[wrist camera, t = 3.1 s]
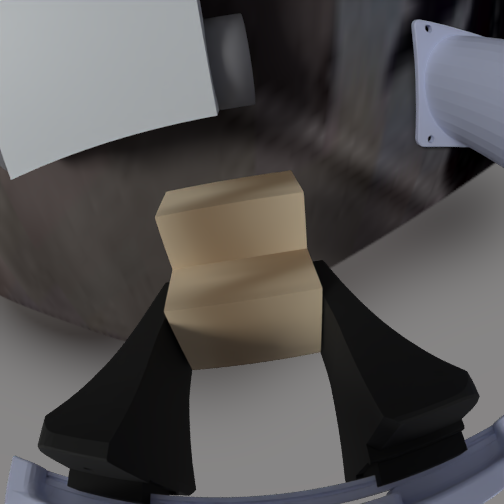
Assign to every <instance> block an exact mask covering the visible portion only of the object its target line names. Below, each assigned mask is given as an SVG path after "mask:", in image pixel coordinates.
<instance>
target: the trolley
mask: <svg viewBox="0 0 504 504" xmlns="http://www.w3.org/2000/svg"><path fill="white" fill-rule="evenodd" d="M218 105H219V107H218ZM249 105H255V89H254V80H253V72H252V65H251V58H250V52H249V46H248V41H247V35H246V30H245V26H244V21H243V18H242V15H241V13H239V14H231V15H225V16H219V17H213V18H207V19H204V22H203V17H202V11H201V5H200V0H0V166H1V167H2V168H3V169H5V170H7V171H8V173H9V176H10V178H11V180H12V179H14V178H16V177H18V176H21V175H23V174H25V173H27V172H30V171H32V170H34V169H37V168H39V167H41V166H44V165H46V164H49V163H51V162H54V161H56V160H59V159H62V158H64V157H67V156H70V155H72V154H75V153H78V152H81V151H83V150H86V149H89V148H92V147H95V146H98V145H101V144H104V143H108V142H111V141H114V140H117V139H121V138H124V137H128V136H131V135H135V134H138V133H142V132H146V131H149V130H153V129H157V128H161V127H165V126H170V125H174V124H178V123H183V122H187V121H192V120H197V119H202V118H207V117H212V116H217V115H218V112H219V108H220V110H224V109H230V108H236V107H243V106H249Z"/></svg>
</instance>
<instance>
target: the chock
mask: <svg viewBox="0 0 504 504" xmlns="http://www.w3.org/2000/svg"><path fill="white" fill-rule="evenodd" d="M155 219H156V222H157V226H158V229H159V232H160V235H161V238H162V240H163V243H164V246H165V249H166V252H167V255H168V258H169V261H170V263H171V266H172V269H173V270H172V275H171V279H170V284H169V289H168V293H167V298H166V303H165V308H164V313H165V315H166V318H167V320H168V322H169V324H170V326H171V328H172V330H173V332H174V334H175V336H176V338H177V340H178V343H179V345H180V347H181V349H182V350H183V352H184V354H185V356H186V358H187V360H188V362H189V364H190V366H191V368H192V370H200V369H210V368H219V367H229V366H237V365H245V364H253V363H260V362H267V361H273V360H280V359H285V358H292V357H297V356H302V355H308V354H314V353H318V352H321V331H322V286H321V283H320V280H319V278H318V275H317V273H316V270H315V267H314V265H313V262H312V260H311V257H310V255H309V252H308V250H307V239H306V221H305V205H304V192H303V190H302V189H301V187H300V185H299V183H298V182H297V180H296V178H295V177H294V175H293V173H292V171H284V172H276V173H269V174H263V175H256V176H250V177H243V178H237V179H231V180H225V181H220V182H214V183H209V184H203V185H198V186H193V187H188V188H183V189H178V190H173V191H168V192H166V194H165V196H164V198H163V200H162V202H161V204H160V207H159V209H158V211H157V213H156V216H155Z"/></svg>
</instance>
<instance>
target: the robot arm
mask: <svg viewBox="0 0 504 504" xmlns="http://www.w3.org/2000/svg"><path fill="white" fill-rule="evenodd" d="M425 26H427V27H428V32H427V31H426V30H425ZM412 35H413V46H414V59H415V78H416V135H415V139H416V142H417V144H419V145H420V146H422V147H470V148H472V149H473V150H475V151H477V152H479V153H480V154H482V155H484V156H485V157H487V158H489V159H490V160H492V161H494V162H495V163H497V164H498V165H500V166H502V167H503V168H504V39H496V38H488V37H483V36H480V35H477V34H474V33H470V32H467V31H464V30H460V29H457V28H453V27H450V26H446V25H442V24H438V23H433V22H429V21H424V20H414V21H413V22H412ZM429 136H431V139H430V141H428V137H429ZM313 265H314V267H315V270H316V273H317V275H318V278H319V280H320V283H321V286H322V331H321V355H322V358H323V361H324V364H325V367H326V370H327V373H328V377H329V381H330V384H331V389H332V395H333V399H334V405H335V411H336V416H337V422H338V428H339V435H340V442H341V449H342V457H343V465H344V474H345V481H346V483H342V484H338V485H333V486H328V487H323V488H317V489H312V490H306V491H299V492H292V493H284V494H276V495H264V496H250V497H221V498H220V497H183V496H170V495H188V496H189V495H191V494H192V493H193V492H194V491H195V490H196V486H195V479H194V471H193V464H192V453H191V441H190V421H189V395H190V384H191V375H192V368H191V366H190V364H189V362H188V360H187V358H186V356H185V354H184V352H183V350H182V349H181V347H180V345H179V343H178V340H177V338H176V336H175V334H174V332H173V330H172V328H171V326H170V324H169V322H168V320H167V318H166V315H165V313H164V308H165V303H166V298H167V293H168V289H169V284H170V282H167V283H165V285H164V286H163V288H162V289H161V291H160V292H159V294H158V295H157V297H156V298H155V300H154V301H153V303H152V304H151V306H150V307H149V309H148V310H147V312H146V313H145V315H144V316H143V318H142V319H141V321H140V322H139V324H138V325H137V327H136V328H135V329H134V331H133V332H132V333H131V335H130V336H129V338H128V339H127V340H126V342H125V343H124V344H123V346H122V347H121V348H120V349H119V350H118V352H117V353H116V354H115V355H114V356H113V358H112V359H111V360H110V361H109V362H108V363H107V364H106V365H105V366H104V367H103V368H102V369H101V370H100V371H99V372H98V373H97V374H96V375H95V376H94V378H92V380H90V381H89V382H88V383H87V384H86V385H85V386H84V387H83V388H82V389H80V390H79V391H78V392H77V393H76V394H75V395H73V396H72V397H71V398H70V399H68V400H67V401H66V402H64V403H63V404H62V405H60V406H59V407H58V408H56V409H55V410H53V411H52V412H50V413H49V414H47V415H46V416H45V419H44V423H43V427H42V430H41V435H40V438H39V443H38V448H39V449H40V451H41V452H42V453H44V454H45V455H47V456H48V457H50V458H52V459H53V460H55V461H57V462H59V463H61V464H63V465H64V466H66V467H68V468H70V471H69V477H66V476H63V475H59V474H56V473H53V472H50V471H47V470H46V469H44V468H43V467H41V466H39V465H37V464H35V463H32V462H30V461H28V460H25V459H22V458H20V457H17V456H13V459H12V464H11V468H10V473H9V479H8V484H7V490H6V497H5V504H341V503H345V502H350V501H353V500H358V499H361V498H365V497H368V496H372V495H375V494H379V493H382V492H386V491H389V490H390V491H389V492H388V493H387V495H386V496H384V497H381V498H378V499H375V500H372V501H368V502H365V503H362V504H484V503H485V502H487V501H488V500H490V499H491V498H493V497H494V496H495V495H497V494H498V493H499V492H501V491H502V490H503V489H504V415H503V416H502V417H501V418H499V419H498V420H497V421H496V422H495V423H494V424H493V425H492V426H490V427H489V428H487V429H485V430H483V431H481V432H479V433H477V434H476V435H474V436H472V437H470V438H468V439H466V440H464V437H463V434H462V432H461V431H462V430H463V429H464V424H463V421H462V418H463V417H464V416H465V415H466V414H467V413H468V412H469V411H470V410H471V409H472V408H473V407H474V406H475V405H476V403H477V402H478V399H479V394H478V392H477V390H476V387H475V385H474V383H473V381H472V379H471V378H470V376H469V374H468V372H467V371H465V370H463V369H461V368H459V367H456V366H454V365H452V364H450V363H447V362H445V361H443V360H441V359H439V358H437V357H435V356H433V355H431V354H430V353H428V352H426V351H425V350H423V349H421V348H420V347H418V346H417V345H415V344H413V343H412V342H410V341H409V340H407V339H405V338H404V337H403V336H401V335H400V334H398V333H397V332H396V331H394V330H393V329H392V328H391V327H389V326H388V325H387V324H385V323H384V322H383V321H382V320H381V319H379V318H378V317H377V316H376V315H375V314H374V313H372V312H371V311H370V310H369V309H368V308H367V307H366V306H365V305H364V304H363V303H362V302H360V300H359V299H358V298H357V297H356V296H355V295H354V294H353V293H352V292H351V291H350V290H349V289H348V288H347V287H346V286H345V285H344V284H343V283H342V282H341V281H340V279H339V278H338V277H337V276H336V275H335V274H334V273H333V271H332V270H331V269H330V268H329V267H328V265H327V264H326V263H325V262H324V261H323V260H320V261H313Z"/></svg>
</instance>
